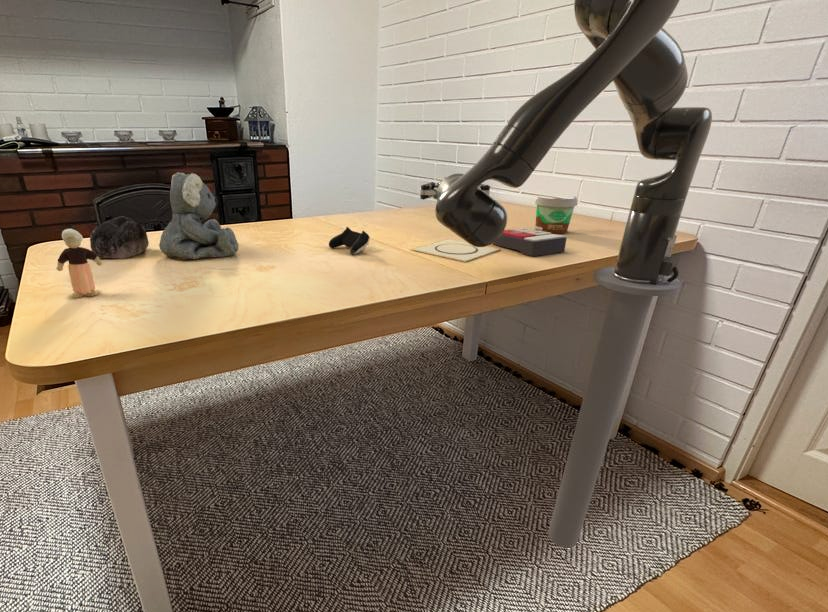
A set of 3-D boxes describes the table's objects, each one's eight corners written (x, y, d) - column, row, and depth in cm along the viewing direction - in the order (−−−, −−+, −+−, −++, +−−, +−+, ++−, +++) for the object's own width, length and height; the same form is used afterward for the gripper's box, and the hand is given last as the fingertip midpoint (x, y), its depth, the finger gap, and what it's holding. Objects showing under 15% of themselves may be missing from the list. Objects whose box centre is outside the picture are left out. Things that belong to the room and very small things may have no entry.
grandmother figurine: (67, 301, 88) (47, 233, 82) (64, 295, 91) (44, 229, 85) (111, 293, 92) (94, 227, 86) (107, 288, 95) (91, 224, 89)
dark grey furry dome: (88, 254, 121) (75, 216, 116) (141, 242, 128) (131, 205, 123) (101, 269, 113) (87, 229, 107) (157, 256, 119) (146, 217, 114)
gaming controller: (361, 262, 119) (376, 240, 120) (352, 251, 116) (367, 229, 116) (335, 253, 126) (349, 233, 127) (325, 243, 123) (340, 222, 124)
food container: (539, 235, 136) (545, 199, 131) (530, 231, 142) (536, 196, 137) (579, 234, 137) (587, 199, 132) (569, 230, 142) (576, 196, 138)
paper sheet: (499, 250, 121) (499, 248, 121) (465, 261, 111) (465, 260, 111) (448, 240, 131) (448, 238, 131) (412, 250, 121) (412, 248, 121)
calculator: (524, 226, 130) (568, 234, 117) (522, 242, 131) (565, 251, 119) (493, 230, 125) (535, 238, 113) (491, 246, 127) (532, 256, 115)
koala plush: (242, 256, 117) (233, 172, 108) (168, 266, 109) (151, 176, 100) (223, 242, 130) (213, 166, 121) (155, 250, 122) (139, 170, 113)
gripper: (418, 219, 86) (416, 204, 102) (496, 220, 85) (482, 204, 100) (420, 175, 83) (417, 167, 98) (502, 175, 82) (486, 167, 97)
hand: (450, 186), depth 99 cm, fingers closed on dot stamp, 3 cm apart
